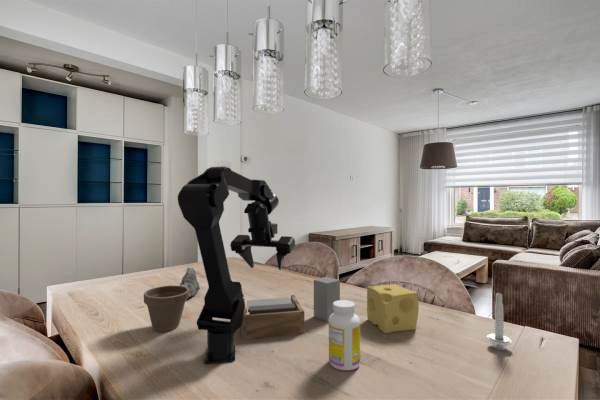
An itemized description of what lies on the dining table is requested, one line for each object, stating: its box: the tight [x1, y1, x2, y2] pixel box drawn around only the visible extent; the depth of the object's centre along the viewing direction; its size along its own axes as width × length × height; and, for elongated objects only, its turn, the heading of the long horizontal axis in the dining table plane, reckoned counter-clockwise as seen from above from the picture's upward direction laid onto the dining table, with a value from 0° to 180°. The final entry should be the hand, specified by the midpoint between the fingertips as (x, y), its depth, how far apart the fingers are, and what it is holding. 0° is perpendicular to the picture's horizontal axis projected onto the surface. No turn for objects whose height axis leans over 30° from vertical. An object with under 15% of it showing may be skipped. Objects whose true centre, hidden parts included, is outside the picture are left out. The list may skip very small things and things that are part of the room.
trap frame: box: [241, 294, 305, 339], centre depth 87 cm, size 14×16×6 cm
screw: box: [486, 292, 512, 351], centre depth 73 cm, size 13×5×5 cm
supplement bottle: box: [328, 299, 361, 372], centre depth 66 cm, size 7×7×13 cm
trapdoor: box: [246, 297, 295, 314], centre depth 87 cm, size 12×13×3 cm
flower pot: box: [143, 285, 190, 333], centre depth 85 cm, size 12×11×10 cm
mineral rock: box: [179, 267, 201, 298], centre depth 113 cm, size 13×11×10 cm
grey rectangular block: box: [313, 276, 341, 323], centre depth 92 cm, size 6×6×11 cm
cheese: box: [366, 283, 420, 334], centre depth 87 cm, size 10×11×10 cm
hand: (266, 268), depth 95 cm, fingers open, 9 cm apart
